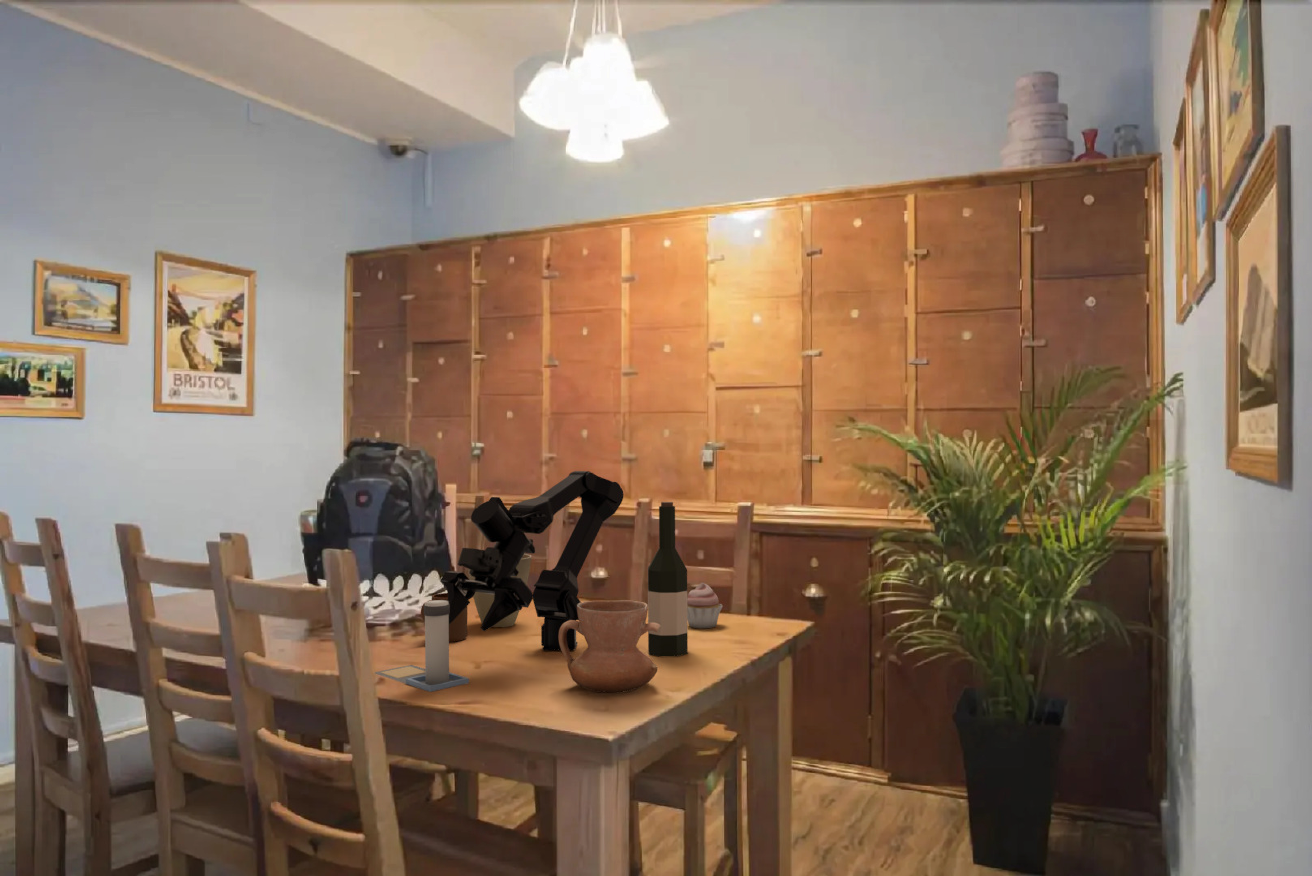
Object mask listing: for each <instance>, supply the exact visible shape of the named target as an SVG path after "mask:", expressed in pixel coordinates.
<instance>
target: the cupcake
mask: <svg viewBox="0 0 1312 876" xmlns="http://www.w3.org/2000/svg"><path fill="white" fill-rule="evenodd" d="M722 608H723V604H722V603H719V598H718V596H717V594H716V593H715V592H714V590H713V589H712V588H711V586H710V585H708V584H707V583H704V582H701V583H699V584H698V585H697V586H696V587H695V589H691V590H690V591H689V592H688V593H687V625H689V627H691V628H693V629H700V628H701V629H712V627H713V628H715V627H717V624H718V619H719V616H720V613H721V610H722Z"/></svg>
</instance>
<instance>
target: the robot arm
mask: <svg viewBox="0 0 1312 876" xmlns="http://www.w3.org/2000/svg"><path fill="white" fill-rule="evenodd" d="M577 498H580V505H581V511H582V512H581V514H580V516H579V518H578V520H577V523H576V524H575V526H574V529H573V531H572V532H571V534H570V536H569V537H568V538H569V539H568V541H567V542H566V545H565V546H564V549H563V551H562V553H561V555H560V557H559V560H558V561H557V563H556V565H555V566H554V568H552V569H543V570H542V571H541V572H540V574H539V577H538V579H537V581H536V582H535V584H534V585H533V587H535V588H534V589H533V592H532V590H531V589H530V587H529V586H528V584H527V585H526V584H525V583H524V581H523V580H522V579H521V578H516V577H511V576H517V575H518V573H519V572H518V570H517V569H516V567H517V565H518V564H519V562H520V560H521V559H522V557H523V555H524V554H535V553H536V547H535V545H534V540H533V539H532V538H531V539H530V538H528V536H527V535H526V534H534V535H541V534H542V533H544V532H545V531H546V530H547V529H548V527H550V526H551V524H552V523H553V521H554V516H555V515H556V514H557V513H558V512H559V511H562V509H563V508H565V507H567V506H568V505H569V504H571V502H574V500H576V499H577ZM623 500H624V490H623V488H622V487H621V485H620V484H619V482H617V481H612V480H610V479H607V478H603V477H601V476H598V475H596V474H595V473H594V472H591V471H588V470H574V471H572V472H570V473H569V474H568V475H567V476H566V477H565V478H564V479H562V480H561V481H559V482H558V483H556V484H554V485H553V486H552V487H550V488H549V489H547V490H546V491H544V492H543V493H541V494H540V495H538V496H536V497H533V498H529V499H525V500H521V501H519V502H516V503H514V504H512V505H511V506H510V508H509V509H508V508H507V506H505V504H504V501H503V500H502V499H501V497H500V496H491V497H490V498H489V499H488V501H485V502H483V503H482V504H480V505H478V506H477V508H474V509H473V511H472V513H471V516H470V519H471V521H472V523H473V524H474V525H475V527H476V528H477V529H478V530H479V532H480V533H481V534H482V535H483V537H484V538H485V539H486V540H487V542H490V543H495V544H494V545H493V547H491V546H488V547H486V548H484V549H479V548H472V547H471V548H470V547H469V548H468V547H462V549H461V550H460V554H459V559H458V562H457V566H459V567H462V566H463V568H467V570H468V569H471V570H470V572H469V573H470V574H471V576H474V577H475V581H474V580H469V576H467V575H466V574H465V573H464V572H463V571H462V572H461V571H452V570H448V571H445V572H444V573H443V576H442V577H441V578H440V580H439V582H440V584H442V585H443V587H444V589H445V591H447V592H446V593H448V603H449V604H450V614H449V624H450V623H451V622H453V621H454V620H455V618H456V617H457V616H458V615H459V614H460V613H461V612H462V611H463V610H464V609H465V608H466V607H467V608H468V606H469V605H470V603H471V601H470V599H472V598H473V596H474V594H475V592H482V593H488V594H494V601H493V603H492V605H491V607H490V609H489V611H488V613H487V615H486V617H485V618H484V621H483V623H481V626H480V630H481V631H483V632H486V631H488V630H489V629H490V628H491V627H492V626H493V625H495V624H496V623H498V622H499V621H501V620H502V619H504V618H505V617H507V616H509V615H510V614H512V613H514V612H516V611H517V610H519V611H522V609H523V608H526V609H527V608H529V607H530V606H531V602H533V605H534V607H535V608H534V609H535V614H536V615H537V618H544V619H543V624H542V625H541V626H540V630H541V631H540V632H541V633H540V634H541V636H540V637H541V638H540V639H541V643H540V644H541V646H542V651H545V652H547V651H550V652H551V651H562V650H561V648H560V644H559V630H560V627H561V626H562V624H563V623H565V622H567V621H569V620H576V621H579V619H578V613H577V604H579V603H581V600H580V599H579V598H578V593H579V591H580V590H579V583H578V576H579V574H580V572H581V570H582V567H583V565H584V564H585V561H586V559H587V558H588V555H589V553H590V551H591V549H592V546H593V544H594V542H595V540H596V539H597V536H598V534H599V532H600V529H601V527H602V526H603V524H604V522H605V521H607V519H609V518H610V517H612V516H614V515H615V514H616V513H617V511H618V509H619V508H620V506H621V504H622V502H623ZM566 635H567V636H566V639H567V645H568V648H569V651H575V650H576V648H577V647H578V641H577V631H576V630H575V629H572V628H570V629H568V631H567V634H566Z"/></svg>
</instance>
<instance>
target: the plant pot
mask: <svg viewBox="0 0 1312 876" xmlns="http://www.w3.org/2000/svg"><path fill="white" fill-rule="evenodd" d="M532 558H533V557H532V555H531V554H529V553H524V555H523V557H522V559H521V560H520V562H519V564H518V565H517V567H516V569H517V570H518V572H519V573H518V575H517V576H511V577H516V578H521V579H522V580H523V581H524V583H525V584H526V585H527V586H528V582H529V581H528V580H529V575H530V570H531V564H532V563H531V562H532ZM470 570H471V569H468V568H467V572H468V578H469V580H474V581H475V577H474V576H471V574H470V573H469V572H470ZM472 598H473V600H474V601H473V602H474V605H475V608H476V612H477V614H478V617H479V620H480V623H481V624H482V623H483V621H484V618H485V617H486V615H487V613H488V611H489V609H490V607H491V605H492V603H493V601H494V594H488V593H482V592H475V594H474V596H473V597H472ZM519 613H520V610H517V611H516V612H514V613H512V614H510V615H509V616H507V617H505V618H504V619H502V620H501V621H499V622H498V623H496V624H495V625H493V626H492V627H503V628H508V627H507V626H510V627H513V626H514V625H515V623H516V621H517V618H518V616H519Z"/></svg>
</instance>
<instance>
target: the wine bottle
mask: <svg viewBox="0 0 1312 876" xmlns="http://www.w3.org/2000/svg"><path fill="white" fill-rule="evenodd" d="M658 531H659V532H658V535H659V537H658V548H657V551H656V553H655V554H654V557H653V558H652V560H651V562H650V563H649V564H648V566H647V605H648V612H647V624H648V623H652V622H653V623H657V624H659V625H660V626H661V628H660V629H659V630H658V633H657V632H655V631H648V632H647V634H648V635H647V636H648V637H647V638H648V639H647V642H648V643H647V644H648V647H647V648H648V655H650V656H655V657H659V656H677V657H680V656H684V655H685V656H686V655H688V654H689V653H688V651H689V650H688V641H689V640H688V639H689V638H688V637H689V636H688V620H687V598H688V568H687V567H686V565H685V563H684V562H683V560H682V558H681V556H680V554H679V552H678V550H677V549H676V506H675V505H674V502H673V501H661V502H660V505H659V506H658Z"/></svg>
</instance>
